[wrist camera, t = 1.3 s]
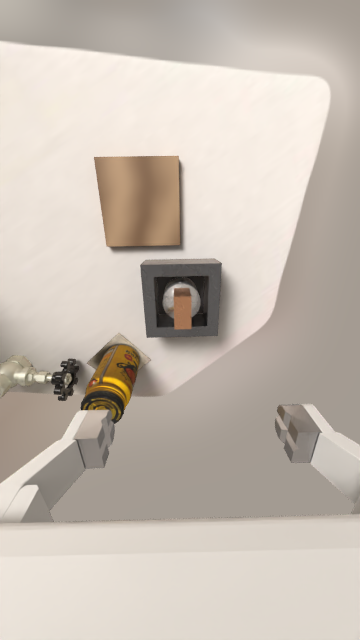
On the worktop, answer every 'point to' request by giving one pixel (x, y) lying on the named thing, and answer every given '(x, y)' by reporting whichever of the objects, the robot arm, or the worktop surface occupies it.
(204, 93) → the worktop surface
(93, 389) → the condiment
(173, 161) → the board
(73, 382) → the valve
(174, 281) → the plug
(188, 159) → the worktop surface
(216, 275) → the housing
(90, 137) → the worktop surface
